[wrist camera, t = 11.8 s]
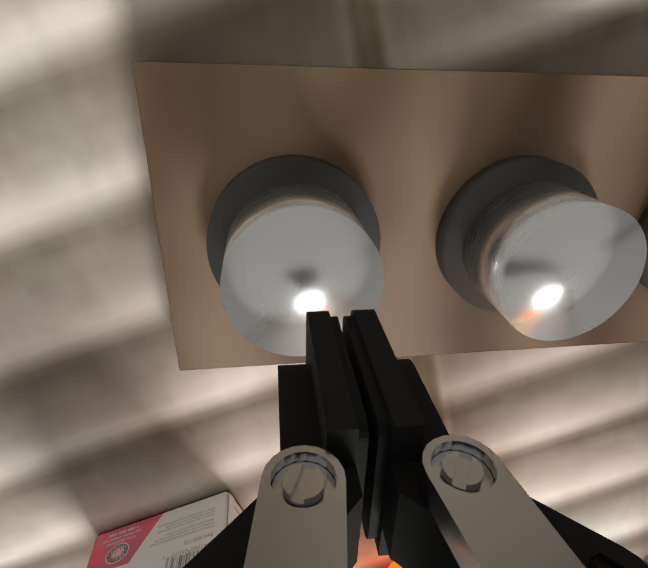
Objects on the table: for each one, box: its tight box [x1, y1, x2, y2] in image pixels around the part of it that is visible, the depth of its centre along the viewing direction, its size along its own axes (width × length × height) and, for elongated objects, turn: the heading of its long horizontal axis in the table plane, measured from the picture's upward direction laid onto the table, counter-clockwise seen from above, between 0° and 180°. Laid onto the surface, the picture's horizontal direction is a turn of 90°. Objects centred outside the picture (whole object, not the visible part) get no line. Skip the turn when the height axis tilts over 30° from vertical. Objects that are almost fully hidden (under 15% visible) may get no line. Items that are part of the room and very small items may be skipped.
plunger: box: [464, 181, 647, 341], centre depth 16 cm, size 5×5×3 cm
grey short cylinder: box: [220, 183, 385, 356], centre depth 15 cm, size 5×5×3 cm
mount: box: [132, 61, 648, 370], centre depth 19 cm, size 28×12×3 cm, turn 88°
